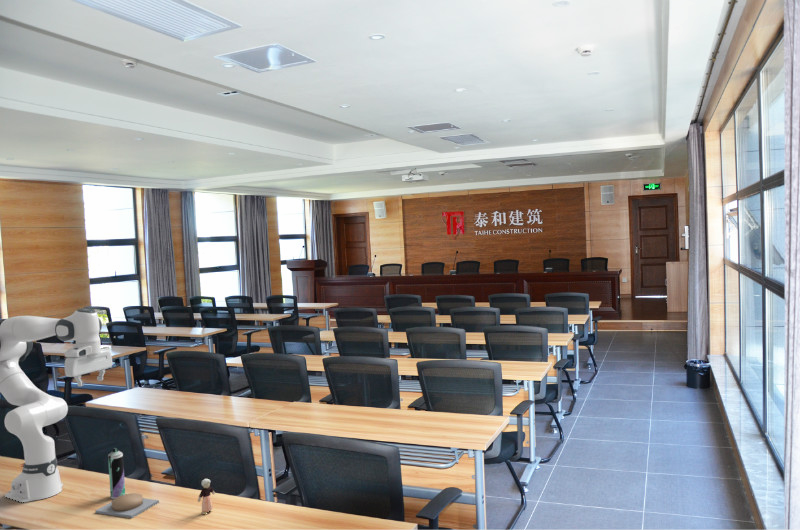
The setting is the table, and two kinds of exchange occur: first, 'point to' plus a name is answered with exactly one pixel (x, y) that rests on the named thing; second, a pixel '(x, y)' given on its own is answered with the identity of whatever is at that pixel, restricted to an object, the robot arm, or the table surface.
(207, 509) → the grandmother figurine
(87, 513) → the table surface
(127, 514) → the display stand
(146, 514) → the table surface
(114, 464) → the spray can
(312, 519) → the table surface
